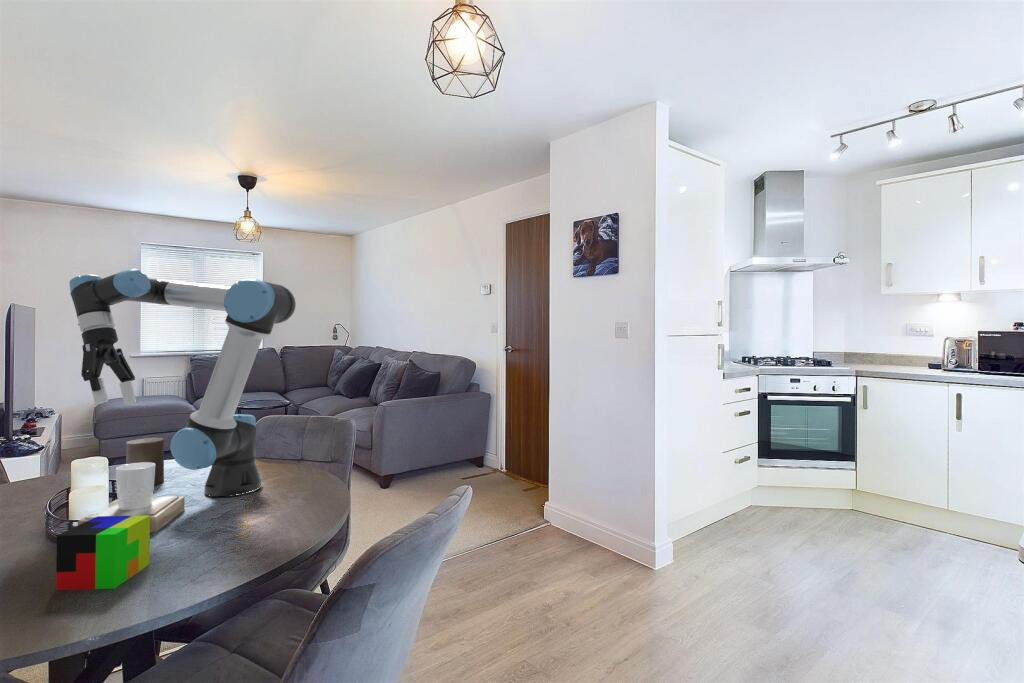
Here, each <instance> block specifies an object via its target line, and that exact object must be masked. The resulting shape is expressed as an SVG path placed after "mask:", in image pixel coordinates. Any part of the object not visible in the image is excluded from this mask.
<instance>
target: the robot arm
mask: <svg viewBox="0 0 1024 683" xmlns="http://www.w3.org/2000/svg"><path fill="white" fill-rule="evenodd" d="M69 289H70V290H69V291H70V297H71V299H72V303H73V305H74V309H75V313H76V317H77V321H78V323H77V325H78V326H79V330H80V332H82V333H81V338H82V343H83V345H82V347H81V348H82V352H83V354H82V364H81V375H80V376H81V378H83V381H84V382H88V381H89V385H90V390H91V393H92V397H93V401H94V404H95V405H101V404H104V403H108V402H109V399H108V394H107V390H106V387H105V386H106V385H105V383H104V378H103V377H100V376H101V374H102V370H103V367H104V364H105V365H106V366H107V367H109V368H110V369H111V370H112V371H113V373H114V375H115V376H116V377H117V379H118V380H119V381H120V382H119V387H120V391H121V394H122V399H123V402H124V405H125V406H128V405H131V404H135V403H137V399H136V396H135V392H134V391H135V390H134V387H133V383H132V381H135V380H136V376H135V375H134V373H133V370H132V368H130V365H129V363H128V361H127V360H126V358H125V356H124V353H123V350H122V348H115V346H114V345H115V343H118V340H119V338H118V337H119V336H118V333H117V330H116V329H115V322H114V318H113V314H112V310H111V306H113V305H116V304H120V303H123V302H139V303H147V304H157V305H161V306H162V305H163V306H165V305H166V306H176V307H186V308H195V309H201V310H202V309H203V310H211V311H221V312H225V313H226V314H227V315H226V317H225V324H226V325H227V327H228V331H227V333H226V335H225V338H224V342H223V344H222V346H221V350H220V352H219V355H218V358H217V360H216V363H215V366H214V368H213V371H212V374H211V376H210V379H209V381H208V384H207V387H206V390H205V392H204V396H203V398H202V401H201V404H200V407H199V409H197V410H196V411H193V412H191V413H190V414H189V417H188V420H187V424H186V426H185V427H183V428H182V429H179V430H178V431H177V432H176V433H175V434H174V435H173V437H172V439H171V441H170V452H171V456H173V458H174V461H175V462H176V464H178V465H179V466H181V467H182V468H184V469H186V470H192V471H196V470H197V471H198V470H201V469H208V468H209V467H211V468H210V470H209V472H208V475H207V478H206V481H205V484H204V495H205V494H207V495H210V496H209V497H212V496H230V495H236V494H242V493H246V492H249V491H252V490H255V489H257V488H259V487H260V486H261V487H262V478H261V475H260V472H259V470H258V466H257V463H256V449H257V446H256V443H257V442H256V441H257V440H256V438H257V425H256V424H257V422H256V416H254V415H253V414H240V413H239V414H238V413H237V414H235V412H236V411H237V408H238V405H239V402H240V400H241V397H242V395H243V392H244V389H245V387H246V383H247V381H248V379H249V375H250V373H251V370H252V367H253V364H254V362H255V360H256V356H257V354H258V351H259V348H260V345H261V343H262V341H263V339H264V338H265V337H268V336H270V335H271V334H272V331H273V328H274V326H275V324H281V323H284V322H286V321H287V320H289V319H290V318H291V317H292V316H293V315H294V313H295V311H296V305H297V303H296V298H295V297H294V294H293V292H291V291H290V290H289V289H288V288H287V287H286V286H284V285H281V284H278V283H277V284H276V283H272V282H268V281H266V280H261V279H257V278H253V279H251V278H244V279H242V280H239V281H237V282H235V283H232V284H231V286H225V285H216V284H208V283H207V284H206V283H198V282H187V281H178V280H171V279H162V278H153V277H148V276H147V275H146V274H145V273H144V272H142V271H141V269H137V268H131V269H127V270H126V269H125V270H122V271H119V272H117V273H115V274H112V275H109V276H106V277H101V276H100V275H96V274H83V275H77V276H74V277H73V278H71V279H70V280H69ZM207 495H206V496H207ZM230 497H231V496H230Z"/></svg>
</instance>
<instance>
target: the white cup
mask: <svg viewBox="0 0 1024 683" xmlns="http://www.w3.org/2000/svg"><path fill="white" fill-rule="evenodd" d="M115 478H116V498H117V500H118V508H119V509H120V510H135V509H140V508H145V507H147V506H150V505H151V504H152V498H153V495H154V488H155V487H154V486H155V485H154V478H155V463H151V462H141V463H131V464H122V465H120V466H117V467H115Z"/></svg>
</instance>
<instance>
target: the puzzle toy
mask: <svg viewBox="0 0 1024 683" xmlns="http://www.w3.org/2000/svg"><path fill="white" fill-rule="evenodd" d="M150 533H151V532H150V516H97V517H95V518H93V519H91V520H89V521H86V522H84V523H82V524H80V525H78V524H77V525H75V526H73V527H72V528H69V529H67V530H66V531H64V532H61V533H59V534H57V535H56V563H55V564H56V569H55V570H56V571H55V572H56V573H55V574H56V576H55V578H56V580H55V582H56V583H55V590H56V591H63V590H64V591H70V590H74V591H75V590H98V589H99V590H104V589H105V590H107V589H116V588H118V587H119V586H120V585H121V584H123V583H124V582H126V581H127V580H129V579H130V578H132V577H133V576H134V575H136V574H137V573H139V572H140V571H142V570H143V569H144V568H146V567H147V566H149V565H150V538H151V537H150Z"/></svg>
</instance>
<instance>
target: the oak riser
mask: <svg viewBox="0 0 1024 683" xmlns="http://www.w3.org/2000/svg"><path fill="white" fill-rule="evenodd" d="M185 499H186V497H185V496H179V495H178V496H155V497H153V498H152V504H151V505H150V506H147V507H145V508H140V509H135V510H120V509H119V508H118V499H114V500H113V501H112V502H111V501H110V502H109V503H108V504H109V507H108V509H107V510H105V511H104V512H100V513H96V514H91V513H90V514H91V515H90V514H88V515H89V516H88V515H87V516H88V517H86V516H84V517H83V518H81V519H79V520H78V521H77V526H78V525H80V524H82V523H84V522H86V521H89V520H91V519H93V518H95V517H97V516H150V533H156V532H158V531H159V530H160V529H162V528H163V527H165V525H167V524H168V523H169V522H171V521H172V520H173V519H174V518H176V517H178V516H179V515H180V514H181V513H182V512H184V510H185V501H186V500H185Z"/></svg>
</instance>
